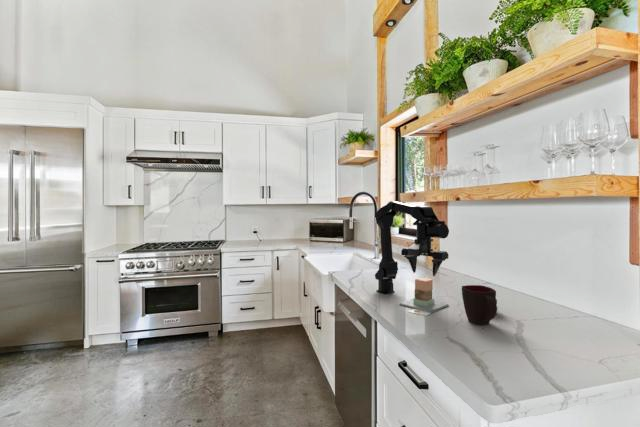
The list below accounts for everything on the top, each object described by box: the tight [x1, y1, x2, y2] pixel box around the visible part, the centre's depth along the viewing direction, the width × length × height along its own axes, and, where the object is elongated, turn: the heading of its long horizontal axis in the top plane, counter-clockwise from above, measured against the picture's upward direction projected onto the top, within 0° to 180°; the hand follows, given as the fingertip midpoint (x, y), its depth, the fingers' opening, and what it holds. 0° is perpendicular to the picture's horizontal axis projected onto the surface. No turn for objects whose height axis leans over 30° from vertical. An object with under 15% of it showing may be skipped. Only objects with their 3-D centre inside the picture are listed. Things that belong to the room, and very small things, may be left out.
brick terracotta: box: [414, 277, 434, 291], centre depth 133 cm, size 5×5×4 cm
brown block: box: [414, 288, 433, 301], centre depth 133 cm, size 5×5×4 cm
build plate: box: [399, 297, 449, 314], centre depth 133 cm, size 14×14×3 cm
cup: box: [461, 284, 498, 326], centre depth 111 cm, size 10×14×12 cm
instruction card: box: [408, 308, 431, 317], centre depth 124 cm, size 7×5×1 cm
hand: (423, 274), depth 133 cm, fingers open, 9 cm apart
